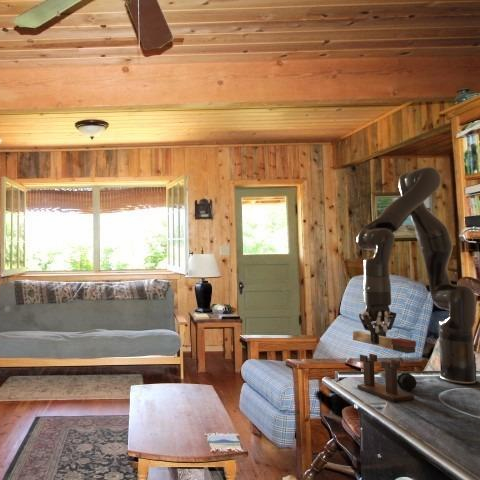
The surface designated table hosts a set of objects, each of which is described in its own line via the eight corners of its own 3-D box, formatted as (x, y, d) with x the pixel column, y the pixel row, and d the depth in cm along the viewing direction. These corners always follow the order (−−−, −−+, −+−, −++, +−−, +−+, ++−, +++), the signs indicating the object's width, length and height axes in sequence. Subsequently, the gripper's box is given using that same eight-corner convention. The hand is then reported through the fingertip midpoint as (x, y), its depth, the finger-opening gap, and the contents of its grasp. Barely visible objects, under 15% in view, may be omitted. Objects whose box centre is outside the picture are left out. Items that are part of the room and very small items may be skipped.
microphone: (377, 383, 149) (406, 394, 129) (370, 367, 150) (398, 376, 130) (392, 378, 148) (423, 389, 129) (385, 363, 149) (415, 371, 130)
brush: (351, 340, 139) (350, 330, 140) (359, 339, 140) (359, 329, 141) (407, 353, 120) (406, 342, 120) (416, 352, 121) (416, 341, 121)
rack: (356, 388, 135) (355, 355, 135) (375, 385, 137) (374, 353, 137) (393, 402, 122) (392, 365, 122) (414, 399, 124) (412, 363, 125)
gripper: (383, 288, 138) (384, 339, 137) (350, 289, 134) (351, 342, 133) (404, 290, 130) (406, 344, 130) (370, 291, 126) (371, 347, 126)
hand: (378, 343), depth 131 cm, fingers closed on brush, 2 cm apart
